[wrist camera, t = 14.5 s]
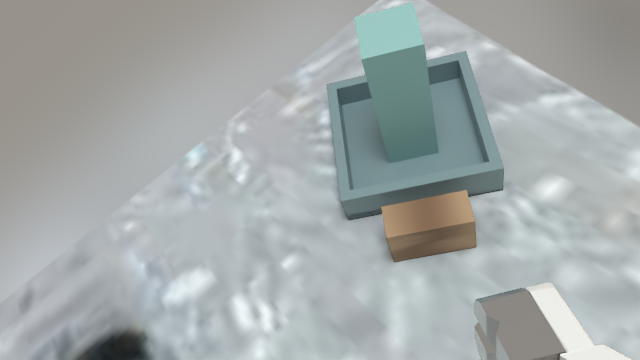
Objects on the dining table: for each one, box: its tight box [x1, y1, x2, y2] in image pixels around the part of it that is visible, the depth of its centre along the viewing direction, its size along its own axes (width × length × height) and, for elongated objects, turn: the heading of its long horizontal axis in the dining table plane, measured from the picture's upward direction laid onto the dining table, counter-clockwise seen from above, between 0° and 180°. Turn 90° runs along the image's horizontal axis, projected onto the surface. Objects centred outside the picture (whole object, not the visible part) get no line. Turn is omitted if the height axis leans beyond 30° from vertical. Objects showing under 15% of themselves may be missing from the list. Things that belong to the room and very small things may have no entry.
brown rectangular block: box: [381, 190, 476, 262], centre depth 40 cm, size 6×2×4 cm, turn 95°
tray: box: [327, 51, 504, 220], centre depth 46 cm, size 12×12×3 cm
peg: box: [354, 3, 439, 163], centre depth 41 cm, size 4×4×12 cm
